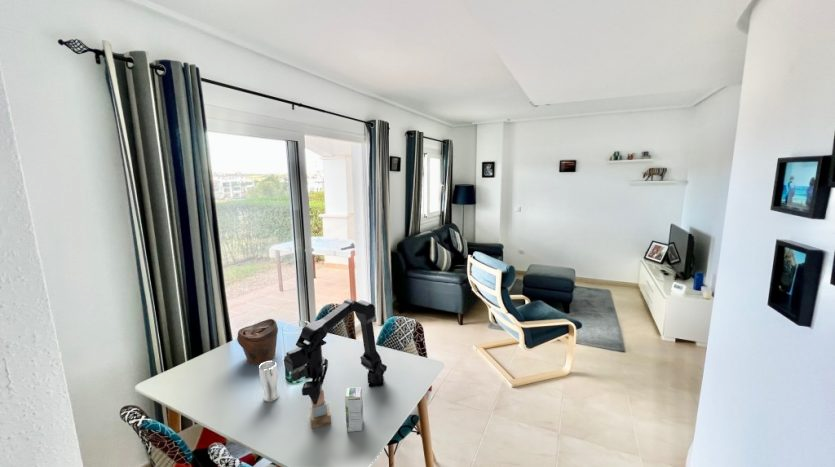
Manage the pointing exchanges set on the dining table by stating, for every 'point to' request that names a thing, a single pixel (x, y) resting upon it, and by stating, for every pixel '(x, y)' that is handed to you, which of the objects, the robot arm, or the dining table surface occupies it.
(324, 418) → the walnut base block
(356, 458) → the dining table surface
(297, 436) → the dining table surface
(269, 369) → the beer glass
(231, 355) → the dining table surface
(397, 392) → the dining table surface
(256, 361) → the brown plant pot
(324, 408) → the slate block
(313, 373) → the robot arm
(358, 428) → the syrup box
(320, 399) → the tan rounded tapered piece
